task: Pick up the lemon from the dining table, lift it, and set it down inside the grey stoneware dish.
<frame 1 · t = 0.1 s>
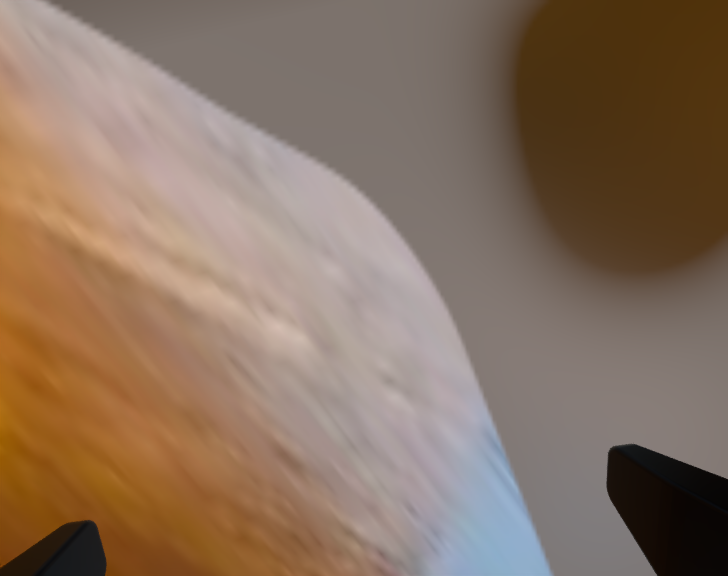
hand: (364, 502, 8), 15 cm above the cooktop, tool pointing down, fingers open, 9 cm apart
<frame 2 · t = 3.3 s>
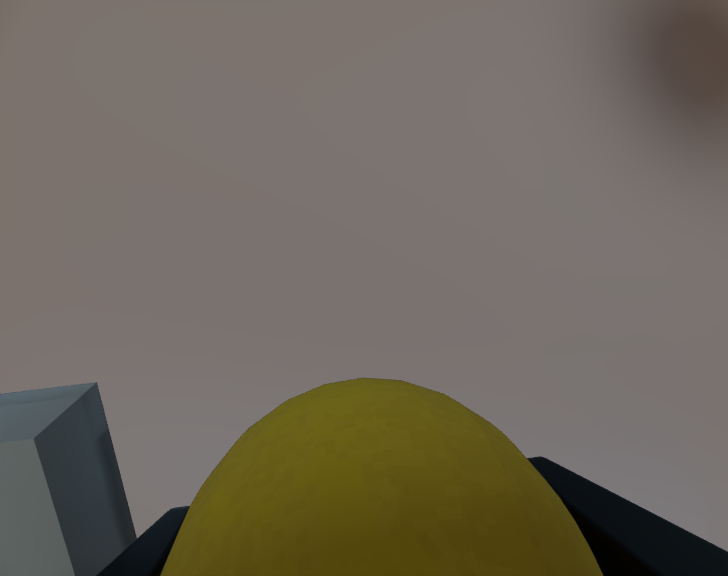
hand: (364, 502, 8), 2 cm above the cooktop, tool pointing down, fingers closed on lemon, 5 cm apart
lemon: (354, 432, 10), on the cooktop, touching gripper
when the fingers open (4 cm above the cooktop, at t = 7.1 s): lemon drops 1 cm, resting on dish.
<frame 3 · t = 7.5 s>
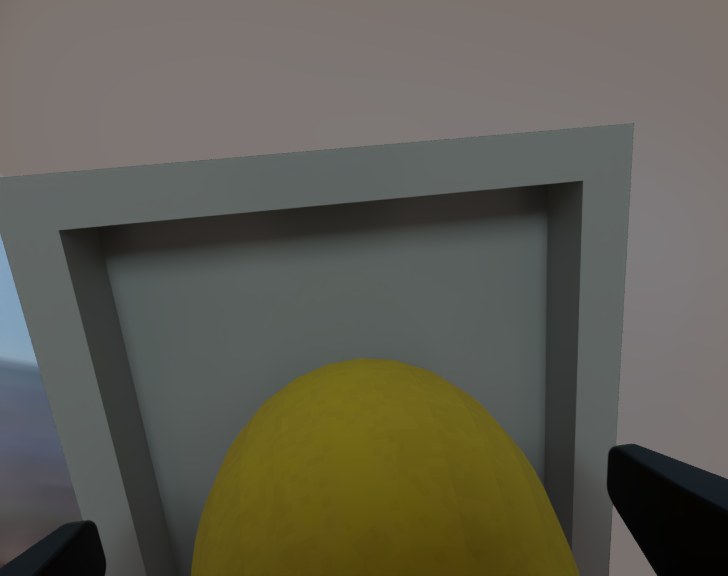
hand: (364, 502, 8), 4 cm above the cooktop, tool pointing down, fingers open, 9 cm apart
lemon: (350, 404, 11), resting on dish
dish: (350, 394, 12), on the cooktop
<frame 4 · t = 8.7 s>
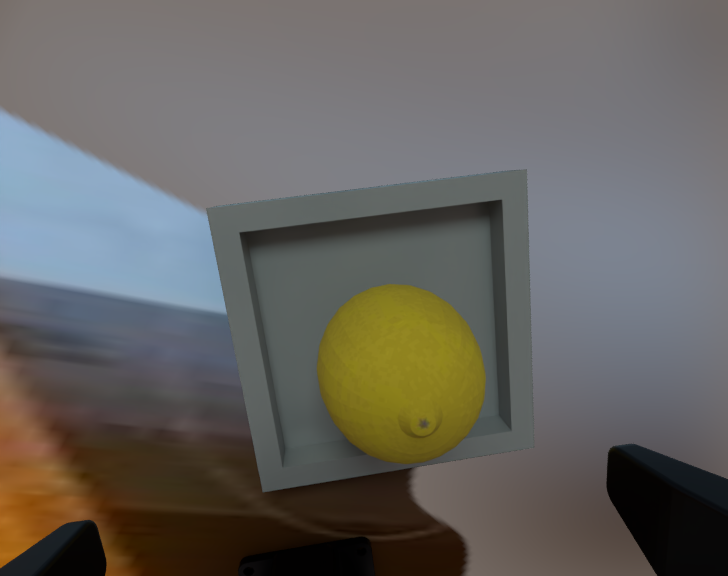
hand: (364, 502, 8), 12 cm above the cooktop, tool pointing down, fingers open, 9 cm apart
lemon: (381, 329, 19), resting on dish
dish: (380, 324, 20), on the cooktop
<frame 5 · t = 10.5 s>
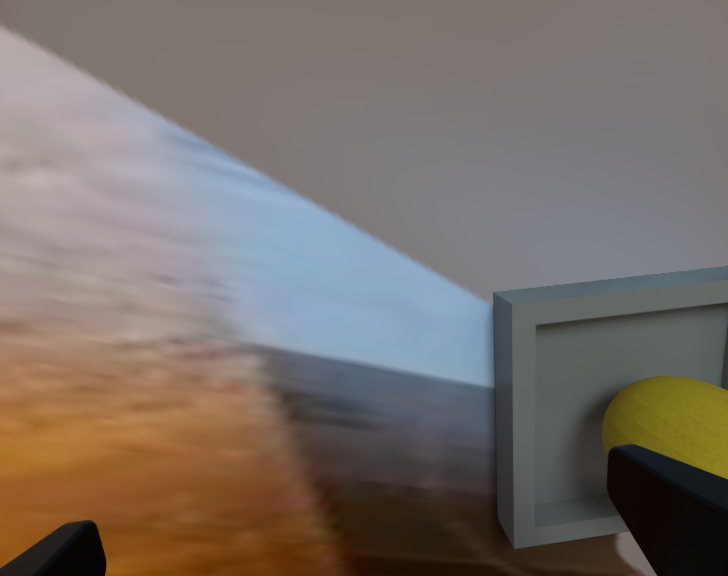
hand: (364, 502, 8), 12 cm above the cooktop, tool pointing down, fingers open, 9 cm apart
lemon: (619, 402, 21), resting on dish
dish: (614, 397, 22), on the cooktop
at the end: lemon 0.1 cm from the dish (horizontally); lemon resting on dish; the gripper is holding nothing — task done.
